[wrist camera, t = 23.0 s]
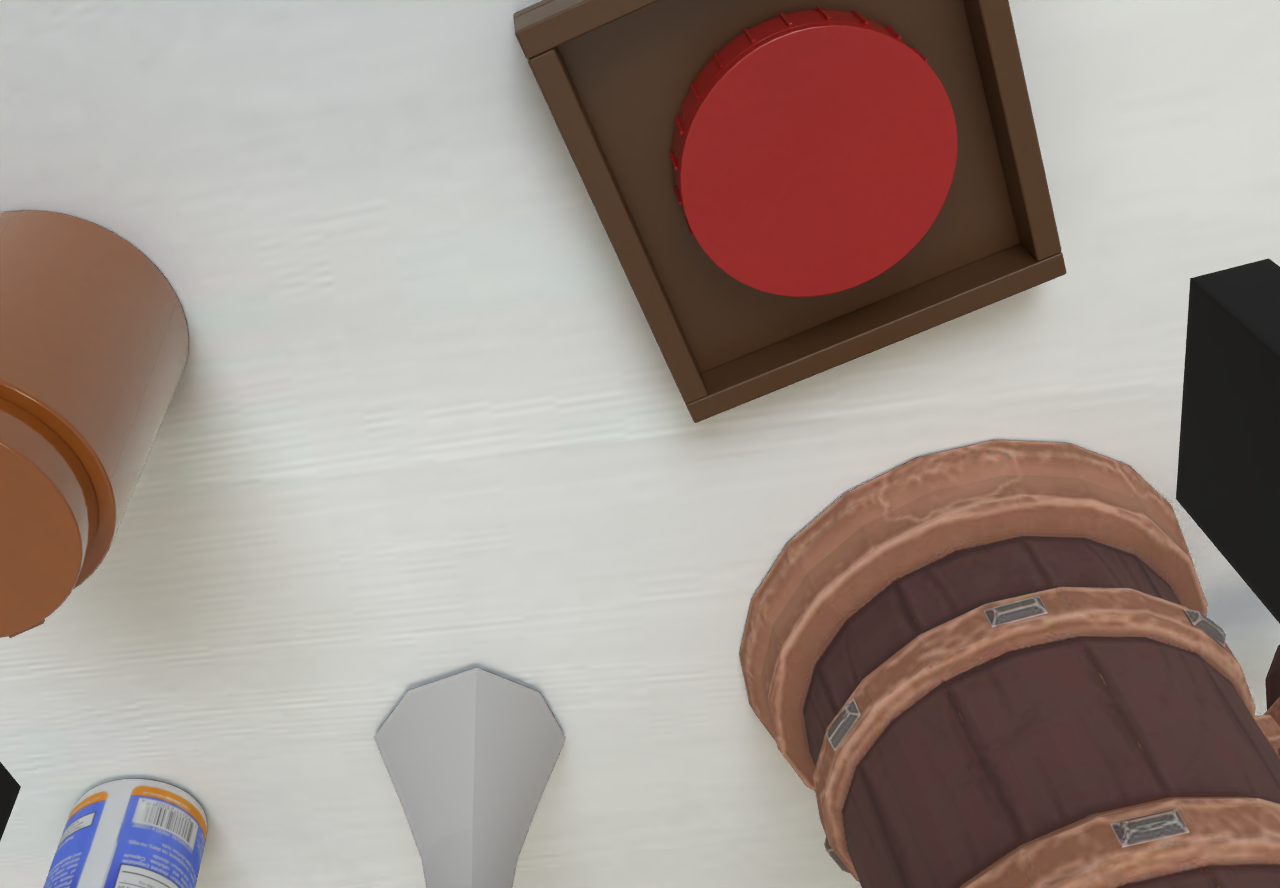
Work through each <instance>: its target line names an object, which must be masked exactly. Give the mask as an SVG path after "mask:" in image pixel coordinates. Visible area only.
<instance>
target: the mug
mask: <svg viewBox="0 0 1280 888" xmlns="http://www.w3.org/2000/svg"><path fill="white" fill-rule="evenodd" d="M1206 613H1207V602H1206V599H1205V597H1204V594H1203V591H1202V588H1201V586H1200V583H1199V580H1198V577H1197V575H1196V572H1195V569H1194V565H1193V562H1192V559H1191V556H1190V554H1189V551H1188V548H1187V545H1186V543H1185V540H1184V537H1183V534H1182V532H1181V529H1180V526H1179V524H1178V521H1177V518H1176V516H1175V513H1174V511H1173V508H1172V506H1171V504H1170V503H1169V502H1168V501H1167V500H1166V499H1165V498H1163V497H1162V496H1161V495H1160V494H1159V493H1158V492H1157V491H1156V490H1155V489H1154V488H1153V487H1152V486H1151V485H1150V484H1149V483H1148V482H1146V481H1145V480H1144V479H1143V478H1142V477H1141V476H1140V475H1139V474H1138V473H1137V472H1136V471H1135V470H1134V469H1133V468H1132V467H1131V466H1129V465H1126V464H1123V463H1121V462H1118V461H1115V460H1113V459H1110V458H1107V457H1105V456H1102V455H1099V454H1097V453H1094V452H1091V451H1089V450H1086V449H1083V448H1081V447H1078V446H1075V445H1073V444H1070V443H1054V442H1029V441H1005V440H993V441H988V442H984V443H979V444H975V445H971V446H966V447H962V448H957V449H953V450H949V451H944V452H940V453H935V454H931V455H926V456H922V457H918V458H915V459H913V460H911V461H909V462H907V463H905V464H903V465H901V466H899V467H897V468H895V469H893V470H891V471H889V472H887V473H885V474H883V475H881V476H879V477H877V478H875V479H873V480H871V481H869V482H867V483H865V484H863V485H861V486H859V487H857V488H855V489H853V490H851V491H849V492H847V493H845V494H844V495H842V496H841V497H840V498H839V499H838V500H837V501H835V502H834V503H833V504H832V505H831V506H830V507H829V508H827V509H826V510H825V511H824V512H823V513H822V514H820V515H819V516H818V517H817V518H816V519H815V520H814V521H812V522H811V523H810V524H809V525H808V526H807V527H805V528H804V529H803V530H802V531H801V532H800V533H799V534H797V535H796V536H795V537H794V538H793V539H792V540H790V541H789V542H788V543H787V545H786V546H785V548H784V549H783V551H782V552H781V554H780V555H779V557H778V559H777V560H776V562H775V563H774V565H773V566H772V568H771V570H770V571H769V573H768V574H767V576H766V577H765V579H764V580H763V582H762V584H761V585H760V587H759V588H758V590H757V591H756V593H755V594H754V596H753V598H752V600H751V604H750V609H749V613H748V618H747V622H746V627H745V631H744V636H743V640H742V645H741V649H740V654H739V655H740V660H741V665H742V670H743V674H744V679H745V684H746V689H747V694H748V699H749V704H750V705H751V707H752V709H753V710H754V712H755V714H756V715H757V717H758V718H759V719H760V721H761V722H762V723H763V725H764V726H765V727H766V729H767V730H768V731H769V733H770V734H771V735H772V737H773V738H774V739H775V741H776V743H777V746H778V749H779V750H780V752H781V753H782V754H783V756H784V757H785V758H786V760H787V761H788V762H789V764H790V765H791V766H792V768H793V769H794V770H795V772H796V773H797V774H798V776H799V777H800V778H801V779H802V781H803V782H804V783H805V785H806V786H807V787H809V788H811V789H812V790H814V791H815V792H816V797H817V803H818V809H819V815H820V820H821V823H822V826H823V828H824V831H825V834H826V840H825V844H824V845H825V848H826V851H827V852H828V853H829V855H830V856H831V857H832V858H833V860H834V861H835V862H836V863H837V865H838V866H839V867H840V868H841V869H842V870H843V871H846V872H848V873H851V874H852V875H853V877H854V878H855V879H856V880H857V881H859V882H860V884H861V886H862V888H1280V645H1279V646H1278V648H1277V650H1276V653H1275V656H1274V658H1273V661H1272V664H1271V666H1270V669H1269V672H1268V674H1267V677H1266V699H1267V712H1266V713H1265V714H1264V715H1262V716H1254V714H1255V705H1254V702H1253V699H1252V696H1251V694H1250V691H1249V688H1248V685H1247V683H1246V680H1245V677H1244V674H1243V671H1242V669H1241V666H1240V664H1239V663H1238V661H1237V660H1236V658H1235V656H1234V655H1233V653H1232V652H1231V650H1230V649H1229V647H1228V646H1227V644H1226V643H1225V633H1224V632H1223V630H1222V628H1220V627H1219V626H1218V625H1216V624H1215V623H1214V622H1212V621H1211V620H1209V619H1208V618H1207V617H1206Z"/></svg>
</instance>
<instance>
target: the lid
mask: <svg viewBox="0 0 1280 888" xmlns="http://www.w3.org/2000/svg"><path fill="white" fill-rule="evenodd" d="M779 15H780V16H777V17H774V18H772V19H769V20H766V21H763V22H761V23H760V24H758V25H756V26H754V27H752V28H750V29H747V28H745V29H744V32H743V33H742V34H740V35H739V36H737V37H736V38H735V39H733V40H732V41H730V42H729V43H728V44H727V45H726V46H725V47H723V48H722V49H721V50H720V51H719V52H718V53H716V52H715V53H714V54H713V56H714V57H713V58H712V59H711V60H710V61H709V63H708V64H707V65H706V66H705V67H704V68H703V70H702V71H701V72H700V74H699V75H698V77H697V78H696V80H695V81H694V83H690V85H689V86H690V90H689V92H688V94H687V96H686V98H685V100H684V102H683V104H682V107H681V110H680V113H679V115H678V117H675V123H676V127H675V131H674V136H673V146H672V153H669V156H670V159H671V162H672V169H673V176H674V182H675V187H673V190H674V193H675V195H676V198H677V201H678V204H679V205H682V208H683V211H684V213H685V216H686V218H685V219H686V222H687V224H688V227H689V230H690V233H691V235H692V236H695V238H696V240H697V242H698V243H699V245H700V246H701V248H702V249H703V250H704V252H705V253H706V254H707V255H708V257H709V258H710V259H711V260H712V261H713V262H714V263H715V264H716V265H717V266H718V267H719V268H721V269H722V270H723V271H724V272H726V273H727V274H728V275H729V276H731V277H733V278H735V279H736V280H738V281H740V282H741V283H743V284H745V285H748V286H750V287H752V288H755V289H757V290H760V291H764V292H767V293H771V294H775V295H782V296H789V297H812V296H822V295H828V294H832V293H837V292H841V291H844V290H847V289H850V288H853V287H856V286H859V285H861V284H863V283H865V282H867V281H869V280H871V279H873V278H875V277H877V276H878V275H880V274H882V273H883V272H885V271H886V270H888V269H890V268H891V267H892V266H893V265H895V264H896V263H897V262H899V261H900V260H901V259H902V258H904V257H905V256H906V255H907V254H908V253H909V252H910V251H911V250H912V249H913V248H914V247H915V246H916V245H917V244H918V243H919V241H920V240H921V239H922V238H923V236H924V235H925V234H926V233H927V232H928V230H929V229H930V227H931V226H932V224H933V223H934V221H935V220H936V218H937V216H938V215H939V213H940V211H941V209H942V207H943V205H944V203H945V201H946V198H947V195H948V193H949V190H950V187H951V184H952V181H953V176H954V172H955V167H956V160H957V149H958V143H957V127H956V121H955V116H954V111H953V108H952V105H951V102H950V99H949V96H948V94H947V92H946V89H945V88H944V86H943V84H942V82H941V81H940V79H939V78H938V76H937V75H936V74H935V72H934V71H933V69H932V68H931V67H930V66H929V65H928V64H927V62H928V60H927V59H926V58H925V57H924V56H923V55H922V54H921V53H920V52H919V51H918V50H916V49H915V48H914V47H913V48H911V47H910V46H909V45H908V44H907V43H905V42H904V41H903V40H902V39H901V38H902V37H901V36H900V35H899V34H898V33H897V32H896V31H895V30H894V29H892V28H891V27H890V26H889V25H886V27H885V26H883V25H881V24H879V23H877V22H875V21H873V20H872V19H869V18H866V17H863V16H862V15H861V14H860V13H858V12H857V11H854V12H853V13H850V12H845V11H839V10H827V9H823V8H822V7H817V9H814V10H802V11H796V12H792V13H788V14H784V13H783V12H781V13H779Z"/></svg>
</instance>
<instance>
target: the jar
mask: <svg viewBox="0 0 1280 888" xmlns="http://www.w3.org/2000/svg"><path fill="white" fill-rule="evenodd" d="M187 354H188V331H187V324H186V319H185V316H184V313H183V310H182V307H181V304H180V302H179V300H178V298H177V296H176V294H175V292H174V290H173V289H172V287H171V285H170V284H169V282H168V281H167V279H166V278H165V276H164V275H163V274H162V273H161V272H160V270H159V269H158V268H157V267H156V265H155V264H154V263H153V262H151V261H150V260H149V259H148V258H147V257H146V256H145V255H144V254H143V253H142V252H141V251H140V250H138V249H137V248H136V247H134V246H133V245H132V244H131V243H129V242H128V241H126V240H125V239H123V238H121V237H120V236H118V235H117V234H115V233H113V232H112V231H109V230H107V229H105V228H103V227H101V226H99V225H97V224H95V223H92V222H89V221H87V220H84V219H81V218H78V217H74V216H70V215H66V214H62V213H56V212H49V211H36V210H21V211H10V212H3V213H0V638H2V637H7V636H9V637H10V638H11V637H14V636H16V635H18V634H21V633H23V632H25V631H27V630H30V629H32V628H34V627H36V626H39V625H41V624H43V623H44V621H45V618H46V617H48V616H49V615H51V614H52V613H53V612H54V611H55V610H56V609H57V608H58V607H59V606H61V605H62V603H63V602H64V601H65V600H66V598H67V597H68V596H69V595H70V593H71V591H72V590H73V589H74V588H76V587H77V586H79V585H80V584H82V583H83V582H84V581H85V580H86V579H87V578H88V577H89V576H90V575H91V574H93V573H94V571H95V570H96V569H97V567H98V566H99V565H100V564H101V562H102V561H103V559H104V558H105V556H106V554H107V552H108V550H109V548H110V546H111V544H112V541H113V539H114V537H115V534H116V532H117V529H118V527H119V525H120V522H121V520H122V517H123V515H124V513H125V510H126V508H127V505H128V503H129V501H130V498H131V496H132V493H133V491H134V489H135V486H136V484H137V481H138V479H139V477H140V474H141V472H142V469H143V467H144V465H145V462H146V460H147V457H148V455H149V453H150V450H151V448H152V445H153V443H154V441H155V438H156V436H157V433H158V431H159V429H160V426H161V424H162V421H163V419H164V417H165V414H166V412H167V410H168V407H169V405H170V402H171V400H172V398H173V395H174V393H175V390H176V388H177V386H178V383H179V381H180V378H181V376H182V373H183V370H184V367H185V364H186V360H187Z"/></svg>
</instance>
